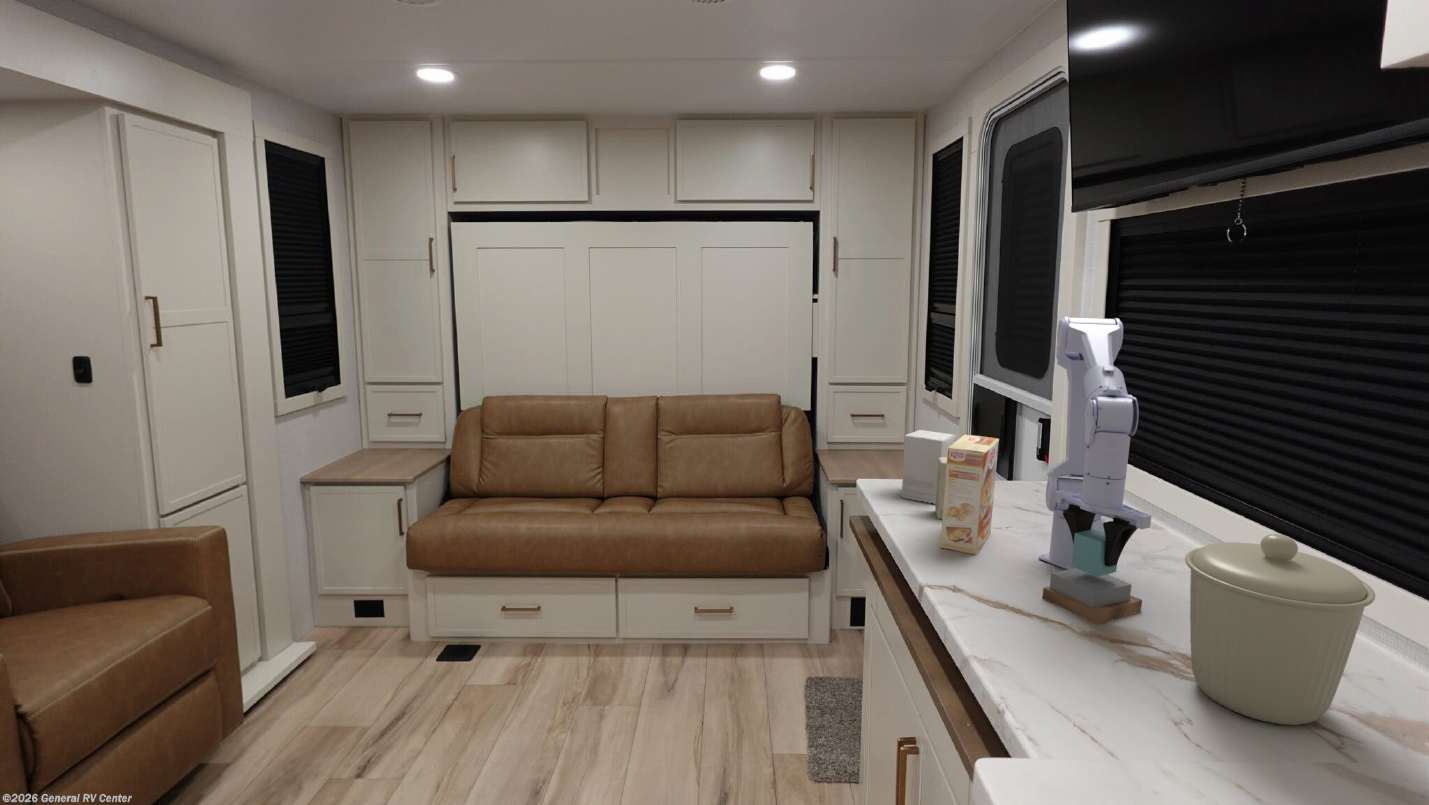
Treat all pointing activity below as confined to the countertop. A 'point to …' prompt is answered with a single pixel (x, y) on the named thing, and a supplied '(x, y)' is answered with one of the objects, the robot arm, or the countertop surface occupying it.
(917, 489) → the supplement box
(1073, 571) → the gray square slab
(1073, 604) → the walnut slab
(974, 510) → the coffeecake box
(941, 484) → the skincare box
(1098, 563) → the teal block
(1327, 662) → the canister
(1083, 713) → the countertop surface
